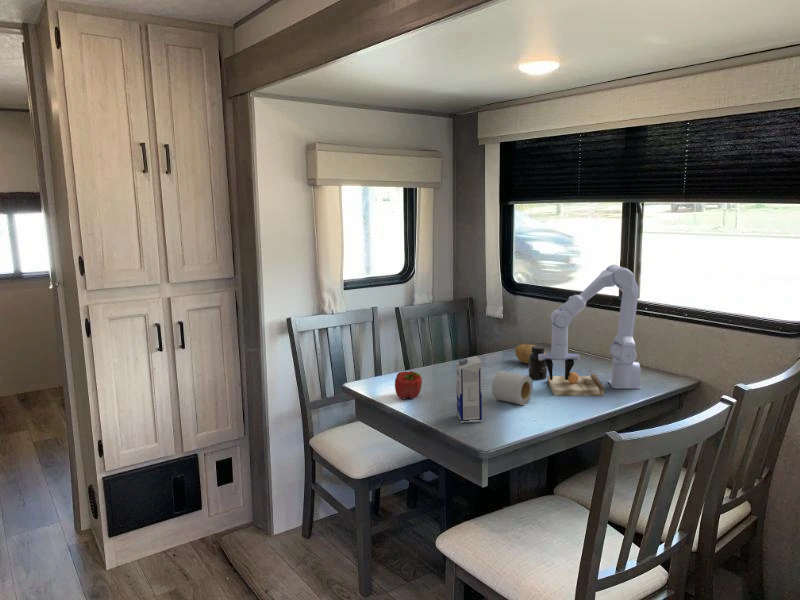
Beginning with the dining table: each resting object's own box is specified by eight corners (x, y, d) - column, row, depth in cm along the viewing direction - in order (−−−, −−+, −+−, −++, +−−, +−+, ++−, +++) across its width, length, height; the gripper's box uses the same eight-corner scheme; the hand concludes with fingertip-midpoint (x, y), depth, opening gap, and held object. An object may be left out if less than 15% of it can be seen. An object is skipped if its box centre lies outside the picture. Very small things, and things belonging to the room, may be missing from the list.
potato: (524, 358, 254) (524, 340, 253) (550, 365, 243) (551, 346, 242) (509, 362, 249) (509, 344, 247) (535, 369, 238) (535, 350, 236)
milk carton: (482, 422, 186) (481, 361, 182) (460, 423, 185) (459, 362, 182) (477, 414, 193) (476, 355, 189) (456, 415, 192) (455, 356, 189)
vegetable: (430, 397, 211) (429, 370, 209) (410, 404, 203) (409, 377, 202) (408, 390, 218) (407, 364, 216) (388, 397, 211) (387, 371, 209)
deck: (595, 381, 221) (595, 372, 221) (605, 395, 206) (605, 386, 205) (547, 381, 223) (547, 373, 223) (554, 395, 207) (554, 386, 207)
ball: (576, 381, 216) (578, 371, 215) (578, 385, 212) (580, 375, 211) (565, 380, 216) (567, 369, 215) (567, 383, 212) (569, 373, 212)
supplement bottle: (547, 380, 224) (547, 349, 222) (528, 379, 226) (528, 349, 224) (546, 374, 231) (546, 345, 229) (528, 374, 232) (528, 344, 230)
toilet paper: (532, 400, 204) (532, 372, 202) (518, 409, 196) (518, 380, 194) (506, 394, 210) (506, 367, 208) (492, 402, 203) (491, 375, 201)
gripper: (578, 340, 215) (576, 376, 218) (537, 340, 217) (536, 375, 219) (581, 345, 208) (580, 382, 211) (540, 345, 210) (539, 381, 212)
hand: (558, 379), depth 214 cm, fingers open, 5 cm apart
